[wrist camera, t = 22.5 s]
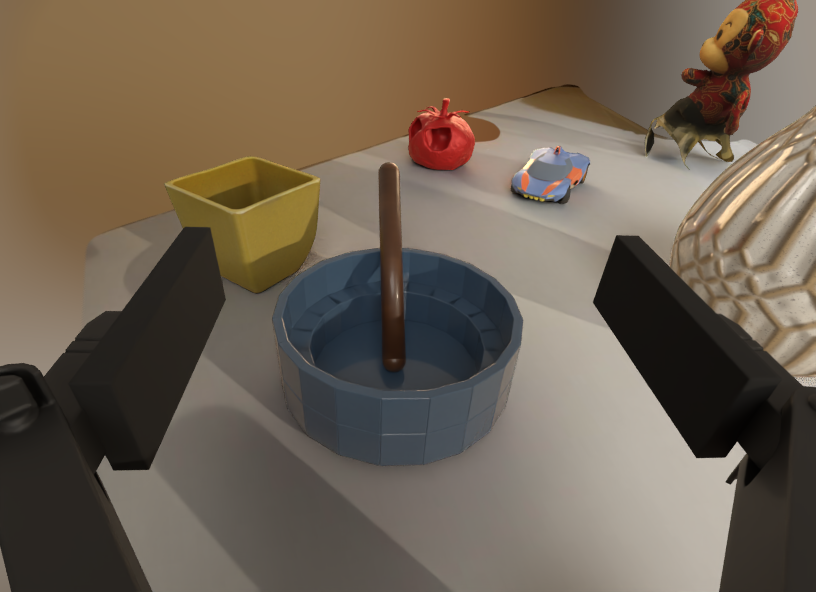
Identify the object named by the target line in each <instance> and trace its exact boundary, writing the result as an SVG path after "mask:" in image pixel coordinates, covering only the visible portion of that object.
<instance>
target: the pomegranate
mask: <svg viewBox="0 0 816 592" xmlns="http://www.w3.org/2000/svg"><path fill="white" fill-rule="evenodd" d="M449 101H450V99H446V98H444V99H443V105H442V110H441V111H440V112H439V111H438V110H437V109H436V108H435V107H433V106H430V107H428V108H432V109H433V110H434V112H431V111H429V110H427V109H426V110H422V111H427V112H429V113H423V114H421V115H419V116H418V117H416V118H415V120H414V121H413V122H412V123H411V126H410V127H409V146H408V148H409V155H410V157H411V158H412V159H413V160H414V161H415V162H416V163H418V164H420V165H423V166H425V167H427V168H431V169H435V170H453V169H456V168H457V167H458V166H461V165H463V164H465V163H466V162H467V161H468V160H469V159H470V157H471V156H472V152H473V149H474V145H475V139H474V135H473V133H472V131H471V129H470V127H469V126H468V124H467V123H466V122H465V121H464V120H463V119H461V118H460V116H458V115H457V113H459V112H465V113H468V111H464V110H461V111H457V112H451V113H447V108H448V104H449ZM418 112H421V111H418Z"/></svg>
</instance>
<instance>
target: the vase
mask: <svg viewBox="0 0 816 592" xmlns="http://www.w3.org/2000/svg"><path fill="white" fill-rule="evenodd" d="M670 268H671V269H672V270H673V271H674V272H675V273H676V274H677V275H678V276H679V277H680V278H681V279H682V280H683V281H684V282H685V283H686V284H687V285H688V286H689V287H690V288H691V289H692V290H693V291H694V292H695V293H696V294H697V295H698V296H699V297H700V298H701V299H702V300H703V301H704V302H705V303H706V304H708V305H709V306H710V307H711V308H712V309H713V310H714V311H715V312H716V313H717V314H722V315H724V316H725V317H727V318H729V319H730V320H732V321H734V322H735V323H737V324H739V325H740V326H741V327H742V328H743V329H744V330H745V331H746V332H747V333H748V334H749V335H750V336H751V337H752V340H755V341H757V342H758V343H759V344H760V345H761V346H762V347H763V350H764V351H767V352H768V353H769V354H770V355H771V356H772V357H773V358H774V359H775V360H776V361H777V362H778V363H779V364H780V365H781V366H782V367H784V368H785V369H786V370H787V371H788V372H789V373H790V374H791V375H792V376H793V377H816V106H815V107H814V108H812V109H811V110H810V111H809V112H808V113H806V114H805V115H803V116H802V117H801V118H799V119H798V120H796V121H795V122H793V123H792V124H790V125H788V126H787V127H785V128H783V129H782V130H780V131H779V132H777V133H775V134H774V135H772V136H771V137H769V138H767V139H766V140H765V141H763V142H761V143H760V144H759V145H757V146H756V147H754V148H753V149H752V150H750V151H749V152H747V153H746V154H745V155H743V156H742V157H741V158H739V159H738V160H737V161H735V162H734V163H733V164H732V165H730V166H729V167H728V168H727V169H725V170H724V171H723V172H722V173H721V174H720V175H719V176H718V177H717V178H716V179H715V180H714V181H713V182H712V183H711V184H710V186H709V187H708V188H707V189H706V190H705V191H704V192H703V193H702V195H701V196H700V197H699V198H698V199H697V201H696V202H695V203H694V204H693V206H692V207H691V209H690V210H689V211H688V213H687V214H686V216H685V217H684V219H683V221H682V223H681V224H680V226H679V229H678V231H677V234H676V237H675V240H674V244H673V247H672V252H671V257H670Z"/></svg>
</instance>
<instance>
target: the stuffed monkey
mask: <svg viewBox="0 0 816 592" xmlns="http://www.w3.org/2000/svg"><path fill="white" fill-rule="evenodd" d="M797 13H798V6H797V3H796V0H745V1H744V2H742V3H741V4H740V5H739V6H738V7H737V8H736V9H734V10H733V11H732V12H731V13H730V14H729V15H728V17H727V18H726V19H725V21H724V22H723V23H722V25H721V26H720V28H719V30H718V32H717V35H716V36H715V37H713V38H710V39H708V40H706V41H705V42H704V44H703V45H702V48H701V50H700V59H701V61H702V63H704V65H705V66H706V67H708V68H709V69H710V71H707V70H704V71H703V70H698V69H693V68H688V69H685V70H684V71H683V72H682V79H683V81H684V82H686V83H688V84H691V85H693V86H697V88H696V89H695V91H694V92H693V93H691V94H690V95H689V96H687V97H686V98H683V99H680V100H679V101H677V102H676V103H675V104H674V105H673V106H672V107H671V108H670V109H669V110H668V111H667V112H666V113H665V114H663V115H661V116H660V117H657V118H655V119H656V120H657V123H656V125H655V128H657V127H660V126H663V127H664V128H665V130H666V131H667V132H668V133H669V135H670V136H671V137H672V138H673V139H674V140H675V141H676V143H677V144H678V146H679V148H680V153H681V156H682V160H683V162H684V164H685V159H686V157H687V155H688V153H689V152H690V151H691V149H692V148H693V147H694V146H695V144H696V143H697V142H699V144H700V145H701V146H702V147H703V148H704V150H705V151H706V149H705V147H704V145H703V143H702V141H701V140H702V139H707V140H710V141H716V142H717V143H719V144H720V145H721V146H722V149H721V150H720V151H719V152H718V153H717V154H716V156H718V157H719V158H720V160H721V159H722V160H723V161H726V162H732V161H733V159H734V155H733V153H732V150H731V147H730V135H733V133H734V132H736V131H737V130H738V127H739V119H740V117H741V116H742V115H743V113H744V112H745V110H746V108H747V105H748V102H749V99H750V93H751V89H750V83H749V77H748V76H749V74H750V73H753V72H757V71H759V70H761V69H762V68H764V67H766V66H767V65H768V64H770V63H771V62H772V61H773V60H775V59H776V58H777V56H778V55H779V54H780V52H781V51H782V50H783V49H784V47H785V46H786V44H787V43H788V41H789V39H790V38H791V36H792V31H793V28H794V22H795V19H796V17H797ZM655 119H654V120H655ZM654 120H653V121H654ZM653 121H652V122H651V124H650V127H649V129H648V132H647V135H646V137H645V152H646V157H647V156H648V154H649V152H650V150H651V148H652V146H653V144H654V133H653V131H652V129H651V125H652V123H653ZM706 152H707V151H706ZM707 153H708V152H707ZM708 154H709V153H708ZM709 155H711V154H709ZM711 156H712V155H711ZM713 157H714V156H713ZM715 158H716V157H715ZM717 159H718V158H717ZM685 166H686V165H685ZM686 167H687V166H686ZM687 168H688V167H687Z"/></svg>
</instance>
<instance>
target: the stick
mask: <svg viewBox="0 0 816 592" xmlns="http://www.w3.org/2000/svg"><path fill="white" fill-rule="evenodd" d="M379 219H380V269H381V318H382V362H383V366H384V367H385V369H386V370H388V371H390V372H398V371H400V370H402V369H403V367H404V366H405V363H406V351H405V322H404V293H403V264H402V235H401V205H400V176H399V169H398V167H397V166H396V165H395V164H393V163H390V162H387V163H384V164H383V165H382V166H381V167H380V169H379Z"/></svg>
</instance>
